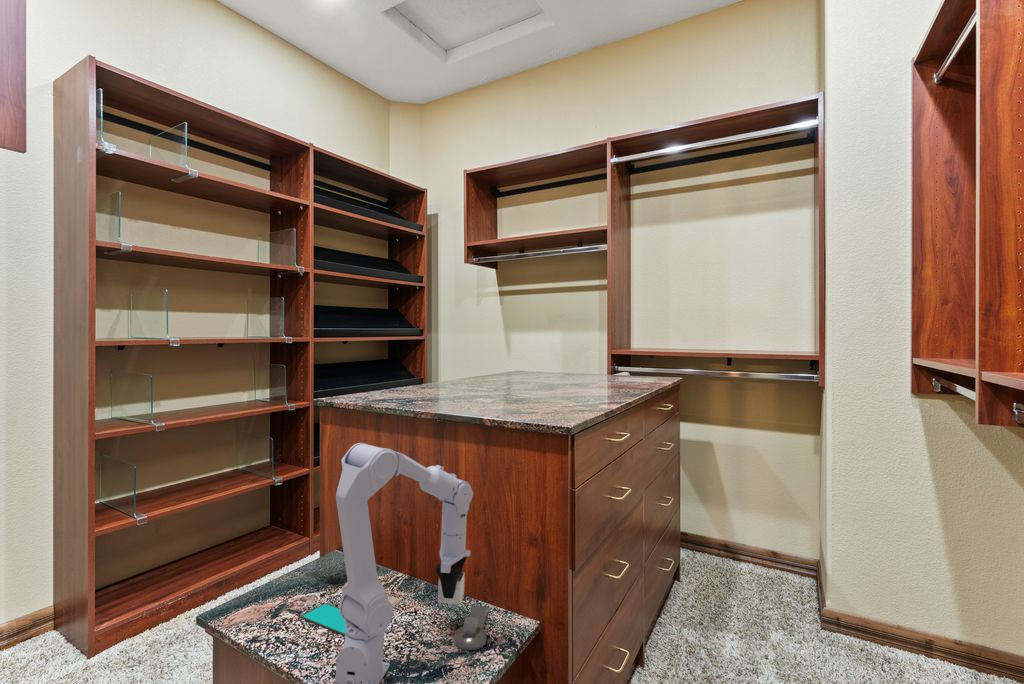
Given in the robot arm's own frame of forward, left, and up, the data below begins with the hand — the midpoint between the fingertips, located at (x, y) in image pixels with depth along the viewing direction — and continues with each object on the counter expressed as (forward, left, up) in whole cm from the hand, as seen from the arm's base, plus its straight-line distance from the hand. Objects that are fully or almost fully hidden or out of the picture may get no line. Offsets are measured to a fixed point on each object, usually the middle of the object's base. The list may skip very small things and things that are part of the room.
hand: (451, 591), depth 109 cm
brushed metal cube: (0, 0, -1) cm, 1 cm away
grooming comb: (+11, +24, -9) cm, 28 cm away
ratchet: (0, -6, -8) cm, 10 cm away
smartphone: (-1, +27, -9) cm, 29 cm away
